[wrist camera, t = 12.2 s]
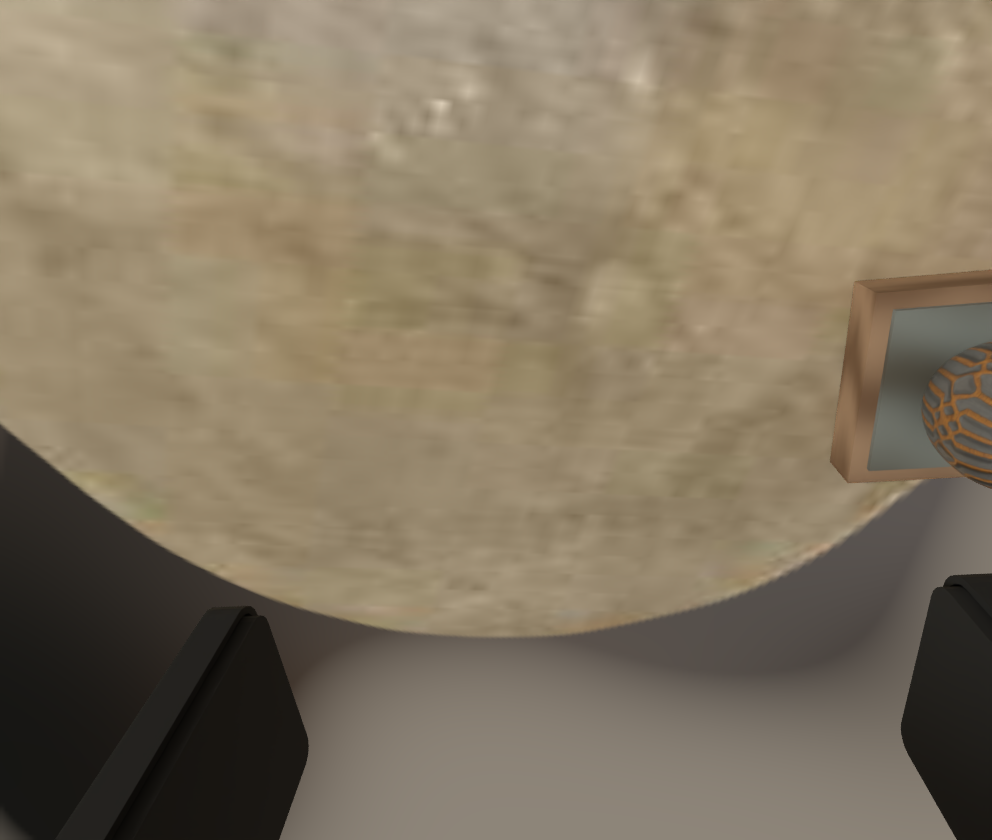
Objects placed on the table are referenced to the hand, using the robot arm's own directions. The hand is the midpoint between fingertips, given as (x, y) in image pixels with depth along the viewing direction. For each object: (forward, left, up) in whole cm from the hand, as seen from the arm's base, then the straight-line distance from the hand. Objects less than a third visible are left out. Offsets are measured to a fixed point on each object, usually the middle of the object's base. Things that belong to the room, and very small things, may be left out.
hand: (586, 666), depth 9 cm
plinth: (+8, +21, -28) cm, 36 cm away
